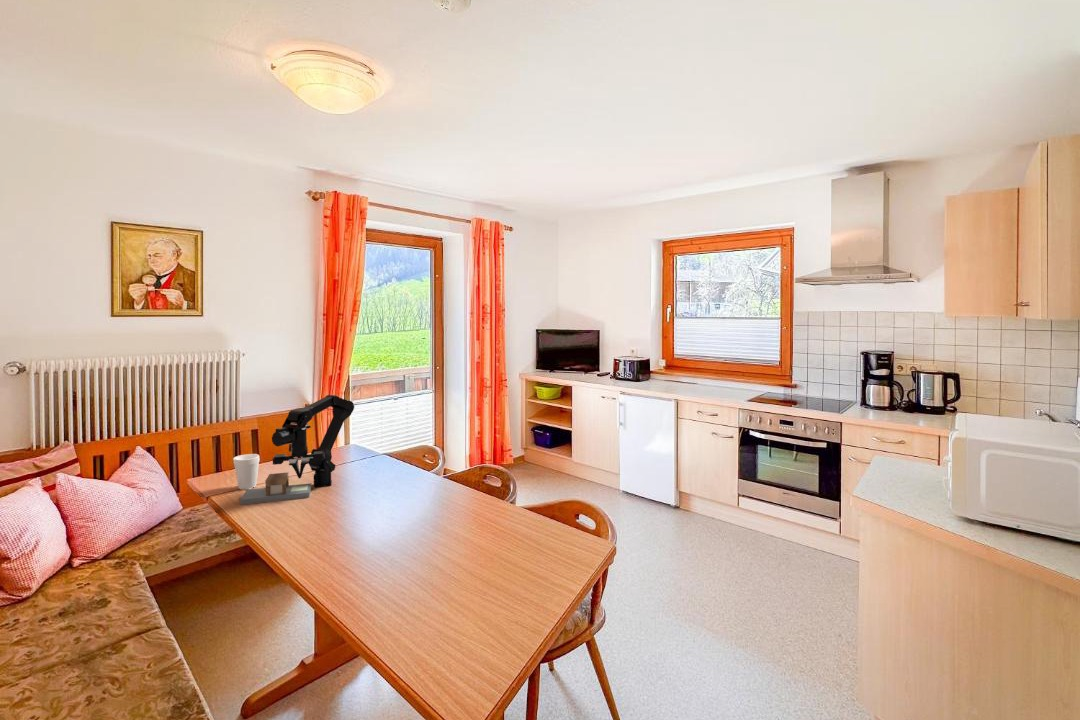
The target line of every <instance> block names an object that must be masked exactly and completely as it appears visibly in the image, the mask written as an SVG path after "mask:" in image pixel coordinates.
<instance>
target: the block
mask: <svg viewBox="0 0 1080 720" xmlns="http://www.w3.org/2000/svg"><path fill="white" fill-rule="evenodd" d="M277 493H282V485H272V486H270V494H277Z"/></svg>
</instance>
